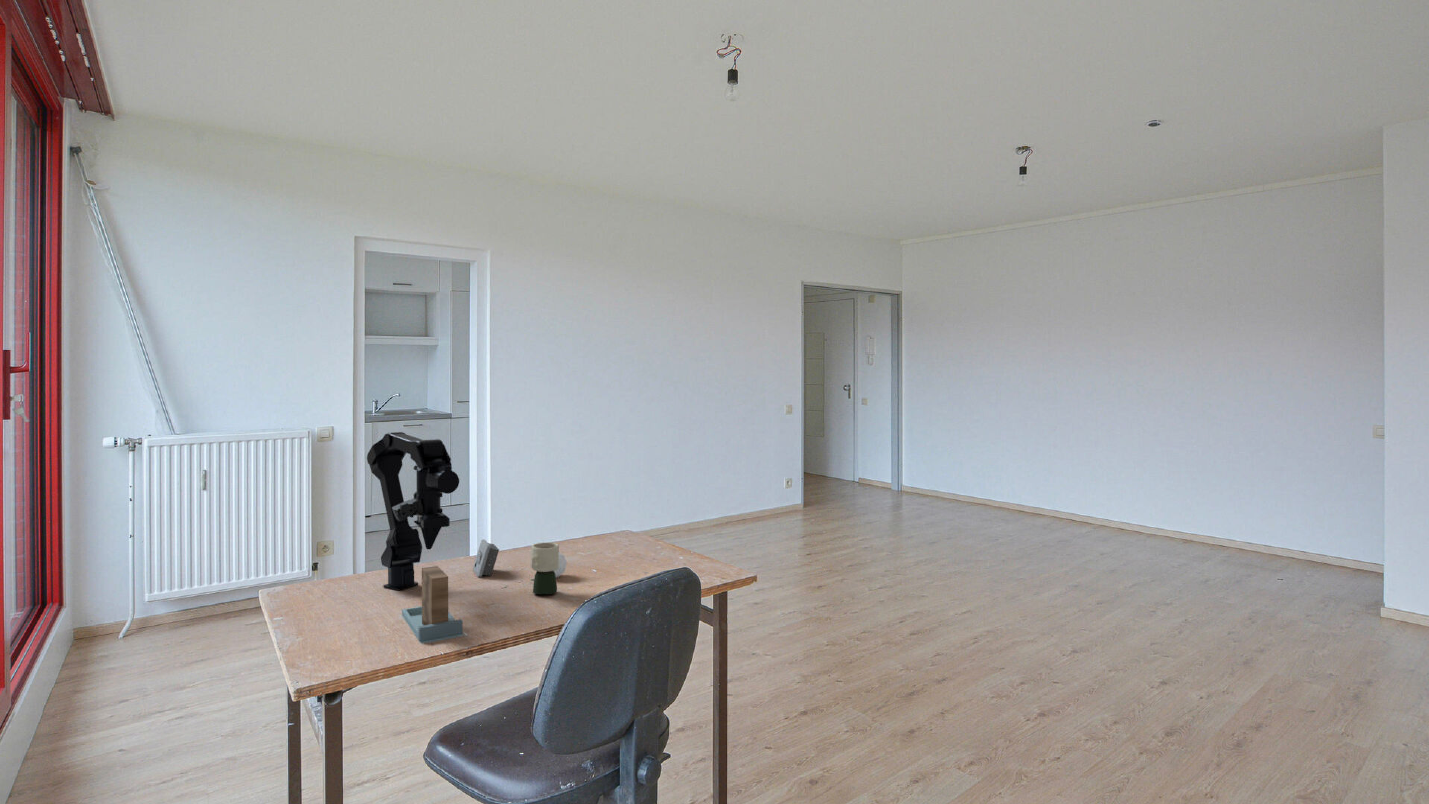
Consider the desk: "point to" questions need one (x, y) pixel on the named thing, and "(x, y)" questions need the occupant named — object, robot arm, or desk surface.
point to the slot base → (432, 626)
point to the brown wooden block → (434, 596)
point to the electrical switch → (485, 559)
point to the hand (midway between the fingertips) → (428, 549)
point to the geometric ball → (561, 565)
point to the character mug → (545, 567)
